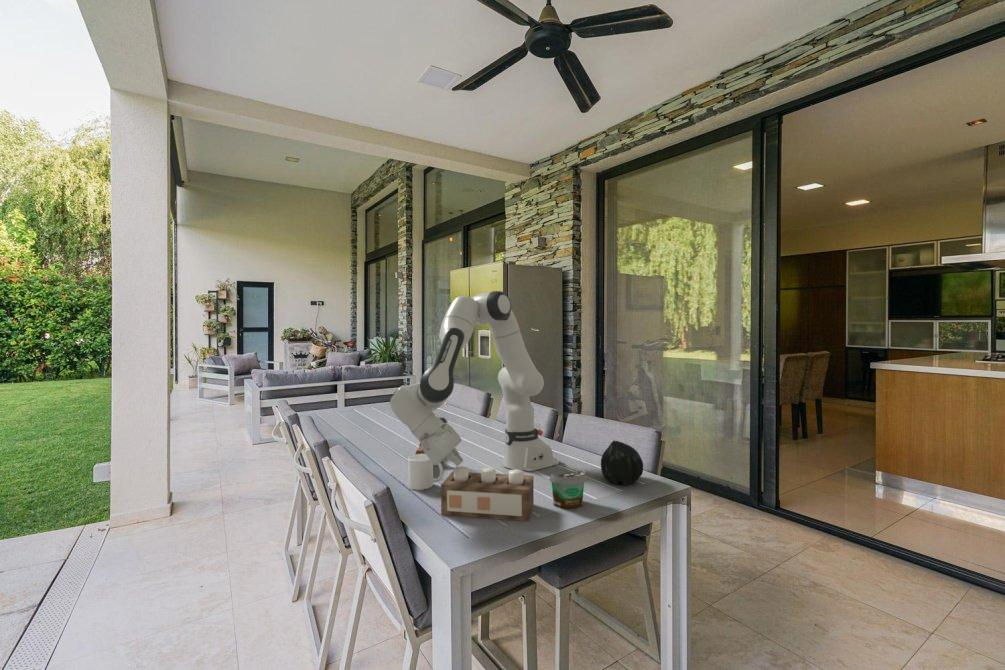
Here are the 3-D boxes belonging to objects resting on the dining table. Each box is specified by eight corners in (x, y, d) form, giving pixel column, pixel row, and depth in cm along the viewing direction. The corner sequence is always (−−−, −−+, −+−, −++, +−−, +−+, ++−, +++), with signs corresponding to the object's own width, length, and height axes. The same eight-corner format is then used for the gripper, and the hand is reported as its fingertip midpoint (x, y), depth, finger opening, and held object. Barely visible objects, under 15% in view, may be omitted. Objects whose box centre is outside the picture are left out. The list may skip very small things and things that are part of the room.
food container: (559, 513, 136) (559, 480, 135) (549, 506, 141) (549, 474, 141) (594, 506, 141) (594, 474, 140) (583, 499, 146) (583, 468, 146)
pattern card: (446, 511, 135) (446, 491, 134) (447, 510, 135) (447, 490, 135) (521, 516, 131) (521, 495, 130) (521, 515, 131) (521, 494, 131)
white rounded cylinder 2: (507, 490, 136) (507, 473, 136) (510, 485, 140) (510, 469, 140) (522, 491, 135) (522, 474, 135) (524, 486, 139) (524, 469, 139)
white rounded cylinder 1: (479, 488, 137) (479, 472, 137) (482, 483, 142) (482, 467, 141) (494, 489, 137) (494, 473, 136) (496, 484, 141) (496, 468, 141)
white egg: (452, 487, 139) (452, 470, 139) (456, 482, 143) (456, 466, 143) (466, 488, 138) (466, 471, 138) (470, 482, 142) (469, 466, 142)
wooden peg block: (441, 514, 136) (440, 484, 135) (452, 498, 148) (452, 471, 147) (528, 521, 131) (528, 490, 131) (533, 504, 143) (533, 475, 143)
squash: (658, 468, 159) (633, 431, 166) (631, 479, 150) (606, 439, 157) (633, 486, 168) (611, 450, 176) (607, 497, 159) (584, 459, 166)
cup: (413, 481, 164) (412, 453, 163) (446, 482, 162) (445, 454, 162) (405, 490, 156) (405, 460, 155) (440, 491, 154) (439, 461, 154)
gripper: (424, 431, 131) (458, 467, 130) (446, 416, 151) (475, 447, 150) (410, 446, 132) (443, 482, 131) (433, 429, 152) (462, 460, 151)
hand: (460, 463), depth 140 cm, fingers closed
